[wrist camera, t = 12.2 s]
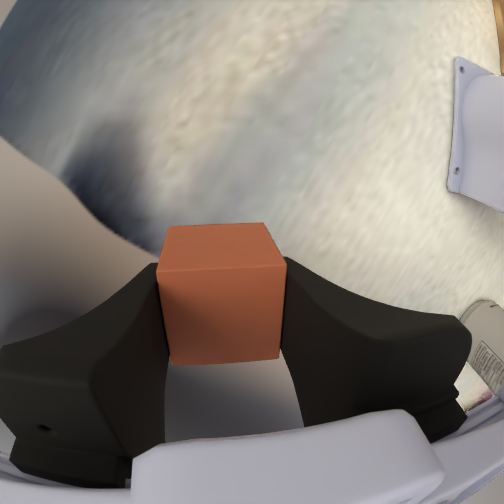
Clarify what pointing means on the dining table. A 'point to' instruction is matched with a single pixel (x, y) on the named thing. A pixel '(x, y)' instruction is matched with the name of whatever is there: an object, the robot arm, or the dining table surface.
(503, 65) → the cabinet
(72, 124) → the dining table surface
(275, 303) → the block
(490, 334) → the energy drink can
